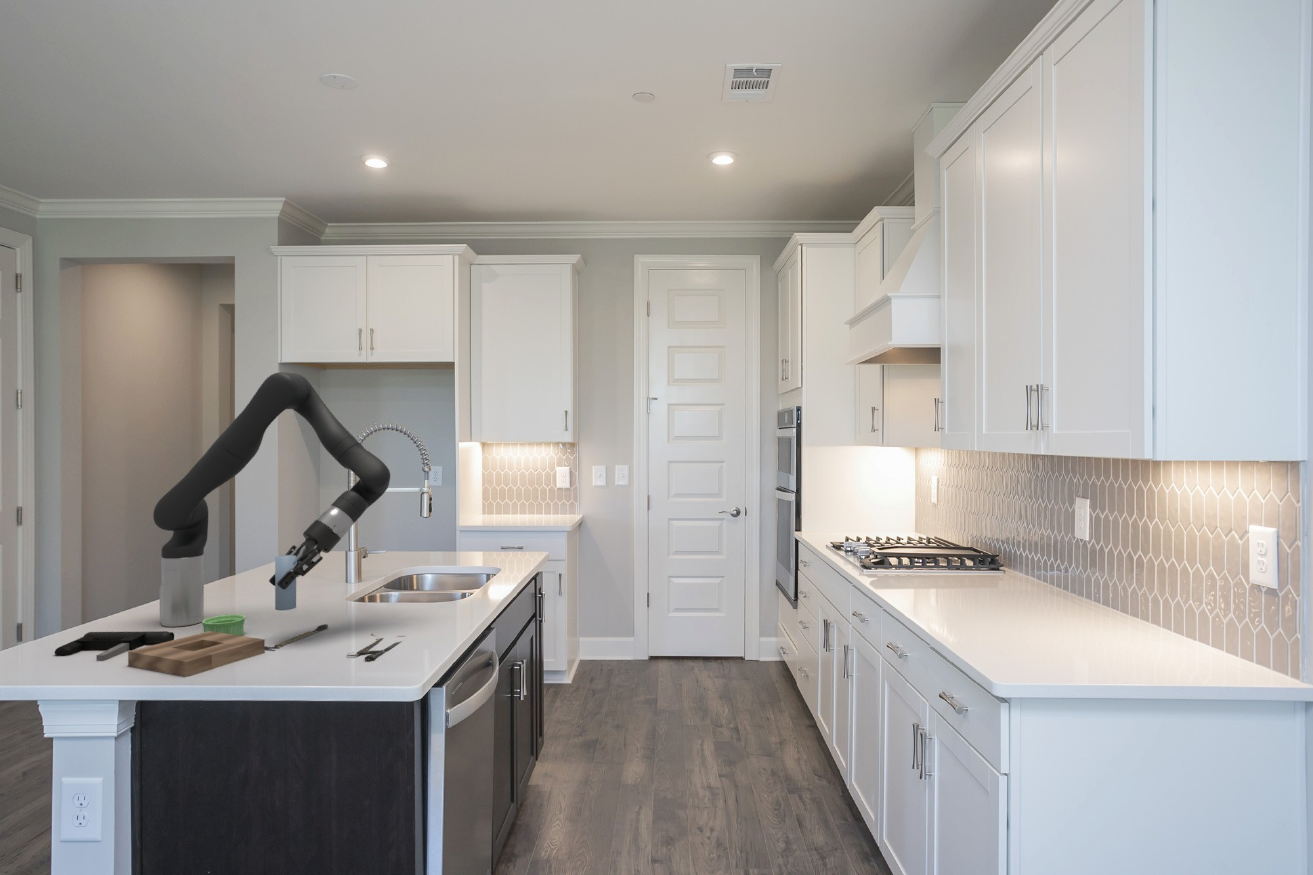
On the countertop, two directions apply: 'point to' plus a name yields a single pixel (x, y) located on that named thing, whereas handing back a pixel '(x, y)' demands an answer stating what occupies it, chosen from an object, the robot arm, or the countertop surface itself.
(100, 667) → the countertop surface
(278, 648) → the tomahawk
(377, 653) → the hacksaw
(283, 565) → the pin
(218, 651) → the socket block
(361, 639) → the countertop surface
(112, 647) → the black angled piece
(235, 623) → the ramekin
